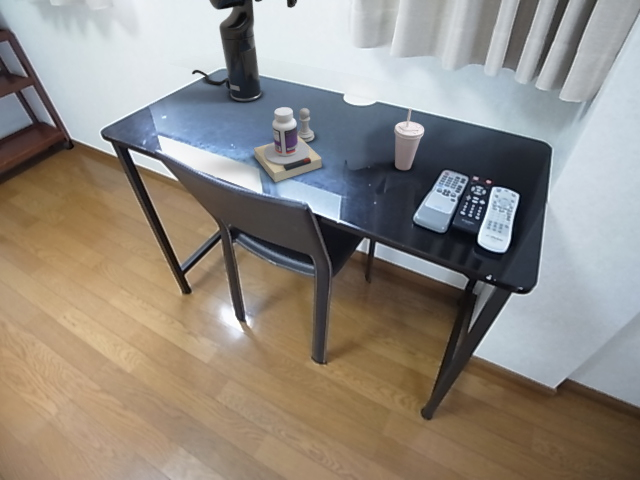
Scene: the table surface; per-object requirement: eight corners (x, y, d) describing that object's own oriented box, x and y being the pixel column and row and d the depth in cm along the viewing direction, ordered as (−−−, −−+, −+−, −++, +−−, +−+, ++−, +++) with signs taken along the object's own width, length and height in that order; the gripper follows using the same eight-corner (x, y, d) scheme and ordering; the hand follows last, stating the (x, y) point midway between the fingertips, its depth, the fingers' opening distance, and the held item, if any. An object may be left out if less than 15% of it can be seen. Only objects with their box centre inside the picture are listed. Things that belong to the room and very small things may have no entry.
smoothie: (393, 156, 91) (401, 100, 81) (419, 161, 89) (431, 105, 79) (386, 170, 87) (394, 113, 77) (413, 176, 85) (425, 118, 75)
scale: (254, 157, 91) (253, 144, 89) (298, 144, 95) (297, 132, 93) (275, 183, 83) (274, 170, 81) (322, 167, 88) (322, 155, 85)
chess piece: (294, 134, 98) (292, 105, 93) (311, 132, 99) (310, 103, 94) (299, 143, 95) (297, 114, 90) (316, 140, 96) (316, 111, 91)
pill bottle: (299, 145, 89) (297, 105, 82) (296, 157, 85) (294, 117, 78) (277, 144, 89) (273, 105, 82) (273, 156, 86) (268, 116, 79)
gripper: (224, -98, 69) (238, 3, 80) (288, -94, 64) (293, 13, 76) (249, -101, 73) (258, -5, 85) (311, -97, 68) (312, 4, 80)
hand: (275, 3), depth 80 cm, fingers open, 8 cm apart
